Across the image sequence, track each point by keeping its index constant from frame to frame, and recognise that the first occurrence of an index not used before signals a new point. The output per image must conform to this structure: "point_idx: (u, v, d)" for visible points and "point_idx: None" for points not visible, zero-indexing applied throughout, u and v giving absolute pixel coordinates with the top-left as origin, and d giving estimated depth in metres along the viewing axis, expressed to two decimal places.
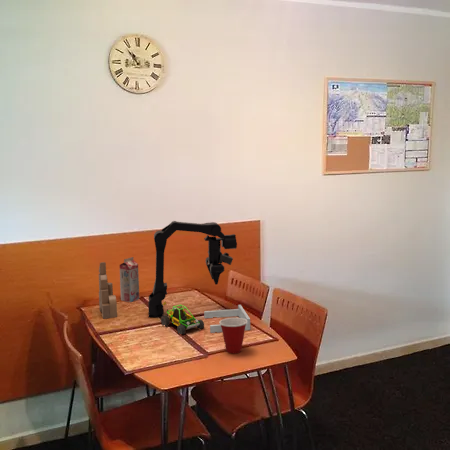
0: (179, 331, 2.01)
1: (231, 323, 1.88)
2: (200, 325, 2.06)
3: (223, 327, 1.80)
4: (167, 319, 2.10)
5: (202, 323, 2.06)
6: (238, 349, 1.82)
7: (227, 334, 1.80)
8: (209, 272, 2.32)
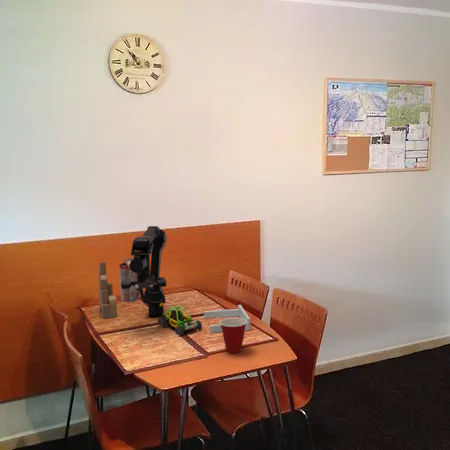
0: (177, 332, 2.00)
1: (231, 323, 1.88)
2: (198, 326, 2.05)
3: (223, 327, 1.80)
4: (164, 320, 2.08)
5: (200, 324, 2.05)
6: (238, 349, 1.82)
7: (227, 334, 1.80)
8: None
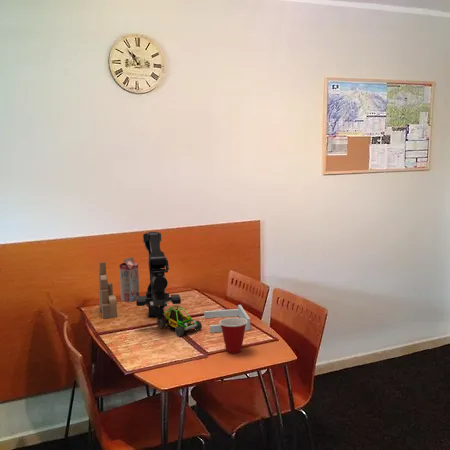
0: (177, 333, 1.99)
1: (231, 323, 1.88)
2: (198, 326, 2.05)
3: (223, 327, 1.80)
4: (164, 321, 2.07)
5: (200, 324, 2.05)
6: (238, 349, 1.82)
7: (227, 334, 1.80)
8: None
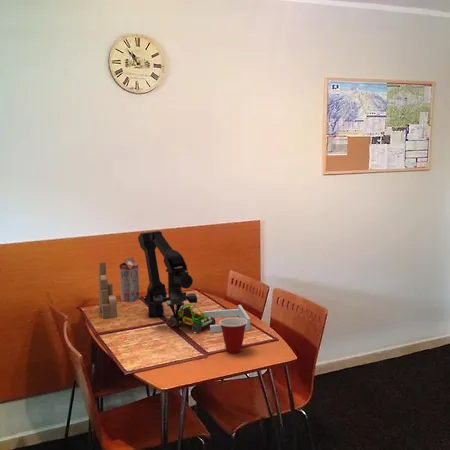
0: (194, 329, 2.03)
1: (231, 323, 1.88)
2: (212, 322, 2.09)
3: (223, 327, 1.80)
4: (177, 319, 2.09)
5: (214, 320, 2.10)
6: (238, 349, 1.82)
7: (227, 334, 1.80)
8: None
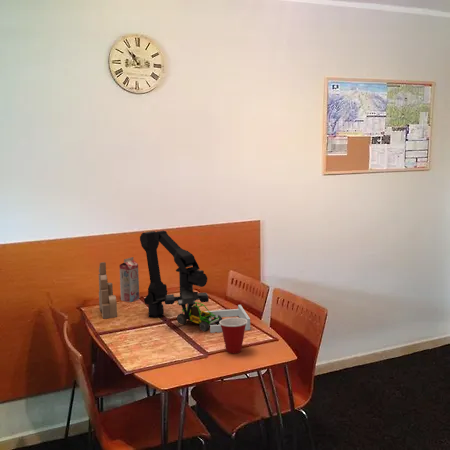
0: (202, 328, 2.05)
1: (231, 323, 1.88)
2: (219, 320, 2.12)
3: (223, 327, 1.80)
4: (185, 317, 2.11)
5: (221, 318, 2.12)
6: (238, 349, 1.82)
7: (227, 334, 1.80)
8: None
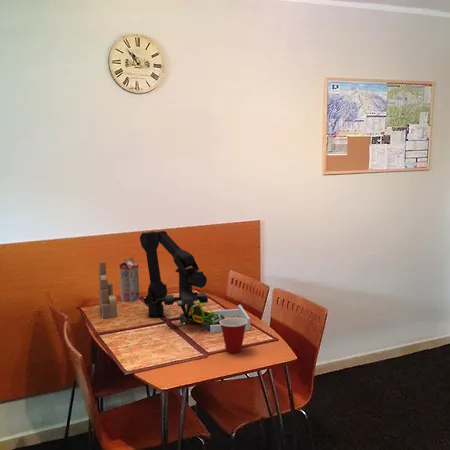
0: (205, 327, 2.05)
1: (231, 323, 1.88)
2: None
3: (223, 327, 1.80)
4: (187, 317, 2.12)
5: (223, 318, 2.12)
6: (238, 349, 1.82)
7: (227, 334, 1.80)
8: None
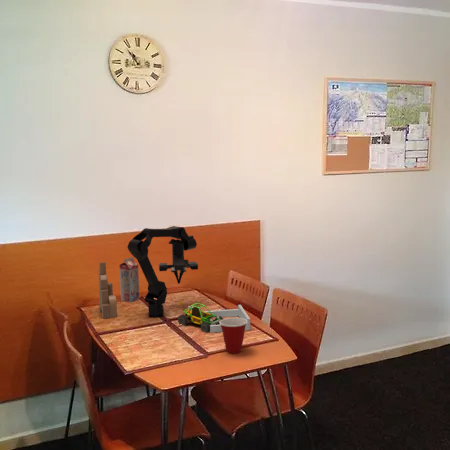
0: (203, 329, 2.04)
1: (231, 323, 1.88)
2: None
3: (223, 327, 1.80)
4: (186, 318, 2.10)
5: (222, 319, 2.11)
6: (238, 349, 1.82)
7: (227, 334, 1.80)
8: None
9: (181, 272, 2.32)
